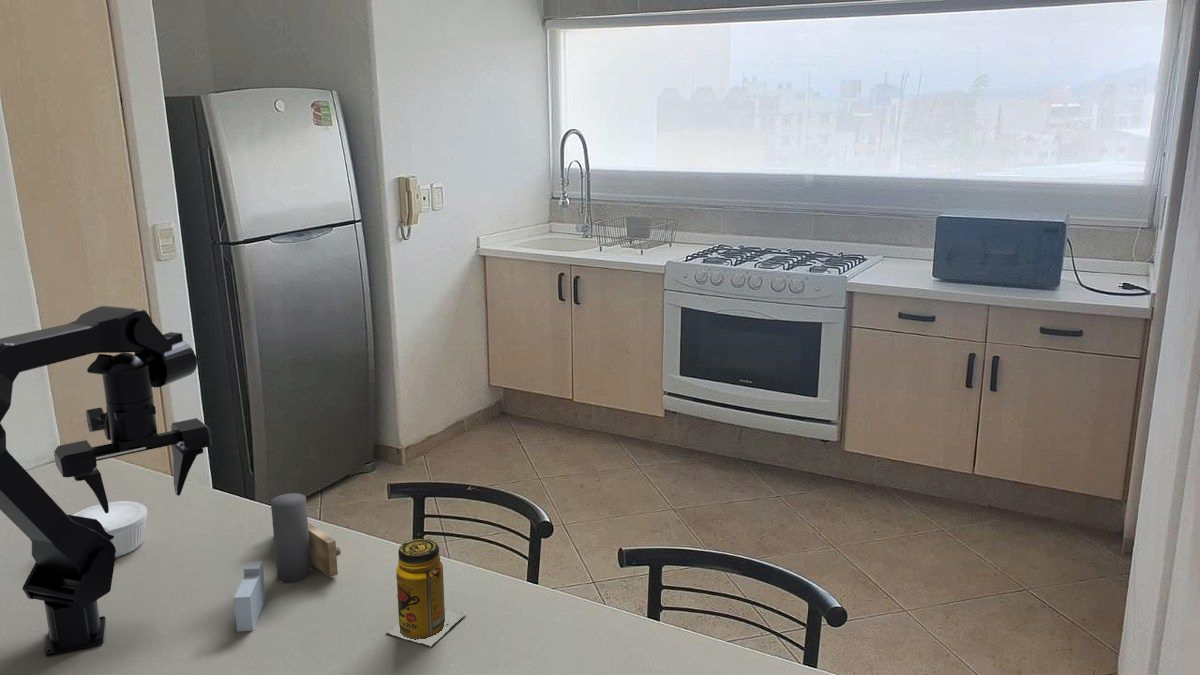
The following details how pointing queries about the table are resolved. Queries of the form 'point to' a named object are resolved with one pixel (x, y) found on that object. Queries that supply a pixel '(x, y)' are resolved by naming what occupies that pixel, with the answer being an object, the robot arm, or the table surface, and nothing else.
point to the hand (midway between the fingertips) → (142, 503)
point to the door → (323, 551)
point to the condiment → (420, 589)
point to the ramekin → (121, 523)
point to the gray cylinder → (291, 537)
